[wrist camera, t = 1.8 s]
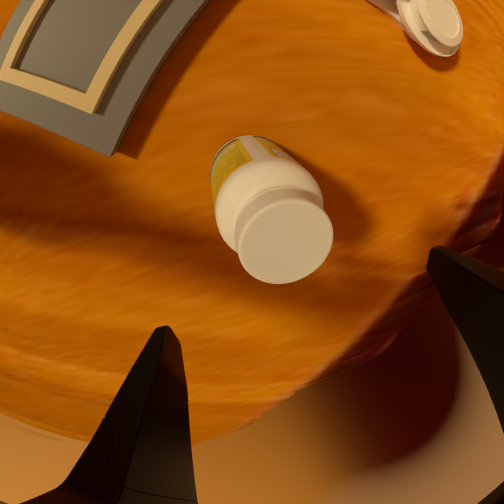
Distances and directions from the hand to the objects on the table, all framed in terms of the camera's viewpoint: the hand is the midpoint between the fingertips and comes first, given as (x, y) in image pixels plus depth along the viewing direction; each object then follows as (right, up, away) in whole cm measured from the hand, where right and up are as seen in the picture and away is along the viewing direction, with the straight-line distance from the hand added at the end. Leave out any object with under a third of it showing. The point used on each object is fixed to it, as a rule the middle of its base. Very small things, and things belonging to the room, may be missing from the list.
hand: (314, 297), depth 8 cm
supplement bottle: (-2, +7, +11) cm, 13 cm away
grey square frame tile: (-13, +16, +2) cm, 21 cm away
